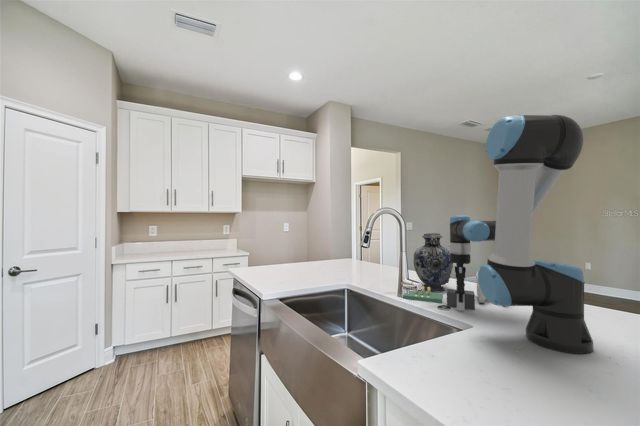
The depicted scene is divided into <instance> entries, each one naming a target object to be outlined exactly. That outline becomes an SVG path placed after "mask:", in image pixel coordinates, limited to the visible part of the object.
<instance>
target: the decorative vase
mask: <svg viewBox="0 0 640 426" xmlns="http://www.w3.org/2000/svg"><path fill="white" fill-rule="evenodd" d="M421 237H422V238H423V239H424V245H423V246H419V247H418V248H416V249H415V251H414V253H413V267H414V270H415V273H416V276H417V277H418V278H419V280H420V281H421V282H422V283H423V285H422V286H424V289H425V290H424V291H427V287H430V292H434V291H440V292H444V291H445V287H444V285H446V284H449V282H450V279H451V274H452V271H453V266H454V263H452V262H450V254H451V253H452V252H451V251H450V249H448V248H446V247H444V246H442V245H441V238H443V236H442V235H441V233H435V232H433V233H432V232H431V233H423V235H422V236H421ZM443 290H444V291H443Z"/></svg>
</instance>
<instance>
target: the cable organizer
mask: <svg viewBox="0 0 640 426" xmlns="http://www.w3.org/2000/svg"><path fill="white" fill-rule="evenodd" d="M475 278H476V296H477V299H478V303H480V304H484V303H485V301H486V300H487V299H486V298H485V296H484V295H483V293H482V291H481V289H480V286H479V282H478V271H477V272H476V273H475Z"/></svg>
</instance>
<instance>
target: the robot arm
mask: <svg viewBox="0 0 640 426" xmlns="http://www.w3.org/2000/svg"><path fill="white" fill-rule="evenodd" d="M485 141H486V142H485V153H486V156H487V157H488V158H489V159H491V160H493V167H494V168H495V169H496V170H497V171H498V172H499V173H498V174H499V175H498V189H497V201H496V217H495V220H471V217H470V216H469V215H451V216H450V219H449V242H450V243H449V244H448V248H449V251H450V252H451V254H450V262H452V263H453V264H455V265H456V266H454V273H455V278H456V281H455V282H456V287H455V288H456V290H457V291H455V293H456V294H457V308H456V310H457V311H460V312H465V311H466V309H465V294H464V293H465V291H464V290H465V286H466V283H465V279H466V271H467V270H466V269H467V268H466V266H464V265H467V264H470V263H471V254H470V253H471V246H472V245H471V242H473V243H474V242H475V243H477V242H478V243H480V242H494V247H493V252H492V253H491V254H490V255H488V256H487V263H484V264H483V265H480V266H479V268H478V270H477V272H478V282H479V286H480V289H481V291H482V293H483V295H484V296H485V298H486V299H485V300H487V301H488V302H489V303H491V304H492V305H494V306H495V305H496V306H505V307H532V312H531V314H530V316H529V319H528V321H527V324H526V326H525V337H526V338H527V339H528V340H529V341H531V342H533V343H535V344H536V345H538V346H539V345H540V346H542V347H543V348H544V347H545V348H548V349H549V350H550V349H551V350H555V351H559V352H564V353H570V354H590V353H592V352H593V351H594V340H593V338H592V336H591V333H590V330H589V327H588V326H587V324H586V320H585V280H584V271H583V270H582V268H580V267H579V266H576V265H572V264H566V263H563V262H554V261H548V260H541V259H540V260H539V259H533V258H531V256H530V251H531V250H530V249H531V239H532V228H533V227H532V226H533V215H534V213H535V211H536V210H537V209H538V207H539V206H540V205H541V203H542V202H543V200H544V199H545V198H546V196H547V195H548V193H549V192H550V191H551V189H553V187H554V185H555V184H556V183H557V182H558V180H559V179H560V177H561V176H562V174H563V173H564V171H569V170H571V168H572V167H573V166H574V164H576V162H577V160H578V159H579V158H580V155H581V153H582V150H583V145H584V133H583V131H582V128H581V126H580V125H579V124H578V122H576V121H575V120H574V119H573V118H572V117H569V116H566V115H561V114H550V115H549V114H548V115H544V114H543V115H539V114H535V115H533V114H532V115H531V114H530V115H529V114H528V115H527V114H525V115H524V114H517V115H508V116H504V117H501V118H500V119H498V120H497V121H495V122H494V124H493V125H492V127H491V129H490V130H489V132H488V135H487V137H486V140H485Z"/></svg>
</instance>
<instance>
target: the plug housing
mask: <svg viewBox="0 0 640 426" xmlns="http://www.w3.org/2000/svg"><path fill="white" fill-rule="evenodd" d="M455 291H457V290H456V289H455V288H446V307H447V308H456V309H457V294H456V293H455ZM464 291H465V293H464V294H465V310H472V311H475V309H476V307H475V305H476V303H475V302H476V298H475V296H476V294H475V292H474V291H473V290H465V289H464Z"/></svg>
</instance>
